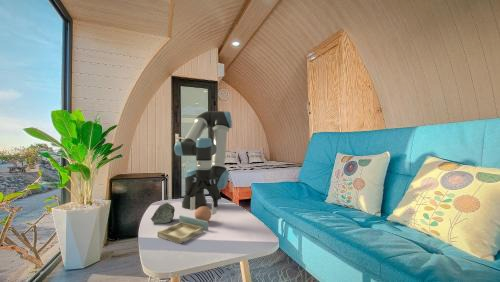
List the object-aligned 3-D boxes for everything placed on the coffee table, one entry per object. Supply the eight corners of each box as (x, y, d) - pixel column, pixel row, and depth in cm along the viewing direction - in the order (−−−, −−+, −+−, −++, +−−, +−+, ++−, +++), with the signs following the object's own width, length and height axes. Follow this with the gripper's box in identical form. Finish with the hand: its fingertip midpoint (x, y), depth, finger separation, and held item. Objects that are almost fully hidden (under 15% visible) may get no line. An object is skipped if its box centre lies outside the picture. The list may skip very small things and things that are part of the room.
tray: (181, 226, 103) (181, 221, 103) (203, 231, 97) (203, 227, 97) (157, 236, 92) (157, 231, 92) (180, 243, 85) (180, 238, 85)
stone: (160, 203, 105) (171, 198, 115) (146, 216, 106) (158, 209, 116) (172, 219, 104) (182, 212, 114) (157, 231, 105) (169, 223, 115)
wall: (180, 223, 107) (180, 215, 107) (208, 230, 99) (208, 221, 99) (179, 224, 106) (179, 215, 106) (206, 231, 98) (206, 222, 98)
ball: (202, 218, 114) (202, 203, 114) (214, 221, 110) (214, 205, 110) (191, 223, 107) (191, 207, 107) (204, 226, 103) (204, 209, 103)
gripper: (179, 168, 111) (179, 210, 111) (219, 171, 100) (218, 218, 99) (190, 166, 118) (189, 206, 117) (228, 169, 106) (228, 213, 106)
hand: (203, 211), depth 108 cm, fingers open, 13 cm apart
